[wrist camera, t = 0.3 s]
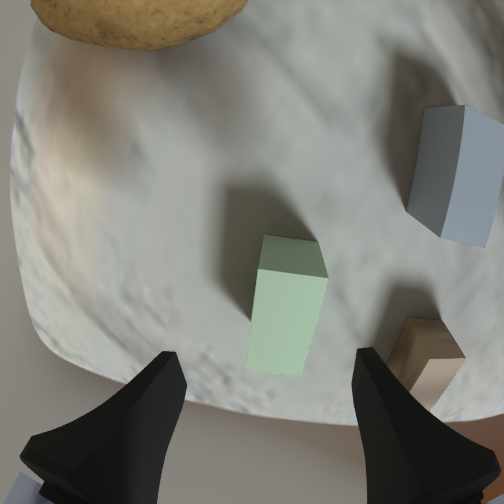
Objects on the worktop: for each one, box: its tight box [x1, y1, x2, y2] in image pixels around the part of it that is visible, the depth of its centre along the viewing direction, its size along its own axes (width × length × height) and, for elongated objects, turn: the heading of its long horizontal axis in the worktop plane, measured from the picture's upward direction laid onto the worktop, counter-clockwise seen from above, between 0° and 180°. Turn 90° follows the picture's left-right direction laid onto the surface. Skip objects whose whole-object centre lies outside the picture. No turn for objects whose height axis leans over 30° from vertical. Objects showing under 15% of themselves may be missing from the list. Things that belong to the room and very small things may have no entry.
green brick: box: [245, 234, 329, 376], centre depth 18 cm, size 7×4×5 cm, turn 174°
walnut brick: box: [386, 317, 466, 411], centre depth 19 cm, size 7×4×5 cm, turn 174°
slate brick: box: [406, 105, 504, 248], centre depth 14 cm, size 7×4×5 cm, turn 174°
